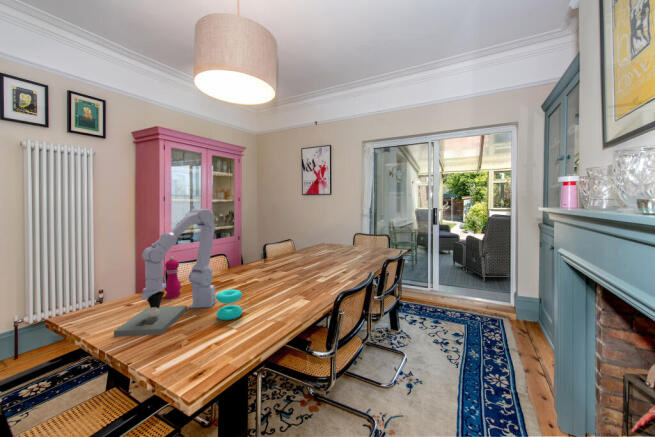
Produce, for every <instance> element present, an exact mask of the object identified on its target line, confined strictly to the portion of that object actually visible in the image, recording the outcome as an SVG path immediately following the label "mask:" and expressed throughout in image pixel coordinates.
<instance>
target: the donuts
mask: <svg viewBox="0 0 655 437" xmlns="http://www.w3.org/2000/svg"><path fill="white" fill-rule="evenodd" d="M242 296H243V293H242V291H240V290H239V289H232V288H231V289H225V290H221V291H219V292H218V293H216V302H219V303H221V304H227V305H225V306H222V307H220V308H219V309H218V310H216V311H217V312H216V317H217V318H218V319H220V320H223V321H229V320H235V319H237V318H239V317H240V316H241V315H242V314H243V308H242V307H241V306H239V305H236V304H233V303H236V302H237V301H239V300H240V299H241V298H242Z"/></svg>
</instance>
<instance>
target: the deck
mask: <svg viewBox="0 0 655 437" xmlns="http://www.w3.org/2000/svg"><path fill="white" fill-rule="evenodd" d="M150 308H151V307H150V306H147V307H145V308H144V309H143V310H141V311H140V312H139V313H137V314H136V315H135V316H133V317H132V318H130V319H129V320H127V321H126V322H124V323H122V324H121V325H119V327H117V328H116V329H114V330H113V336H114V337H130V336H152V335H153V336H157V335H163V334H164V333H165V332H166V331H168V329H169V328H170V327H171V326H172V325H174V324H175V322H176V321H178V319H180V318H181V316H183V315H184V314H185V313H186V312H187V311H188V305H166V306H161V305H160V307H159V315H158V316H157V317H155V318H150V317H149V316H148V314H147V313H148V310H149V309H150Z"/></svg>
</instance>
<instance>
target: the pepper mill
mask: <svg viewBox="0 0 655 437" xmlns="http://www.w3.org/2000/svg"><path fill="white" fill-rule="evenodd" d="M179 266H180V263H179V260H176V259H175V258H174V256H170V257H169V260H167V261H165V265H164V267H165V269H166V274H167V279H166V282H165V283H166V288H164V292H166V293H165V298H167V299H175V298H178V297H180V296H181V291H180V290H181V289H182V284H181V281H180V280H179V277H178V272H179V269H178V268H179Z"/></svg>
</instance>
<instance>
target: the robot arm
mask: <svg viewBox="0 0 655 437" xmlns="http://www.w3.org/2000/svg"><path fill="white" fill-rule="evenodd" d="M214 218H215V214H214V212H212V210H211V209H209V208H194V207H193V208H191V209H190V210H189V211H188V212H186V214H185V215H184V217H183V218H182V219H181V220H180V221H179V222H178V224H176V226H174V228H173V229H172V230H171V231H169V232H165V233H161V234H160V236H159V238H158V239H157V240H156V241H155V242H153V243H152V244H151V246H149V247H146V248H145V249H144V250H143V252H142V254H141V256H140V257H141V258H142V260H143V261H144V270H145V271H144V275H145V276H144V277H145V279H144V280H145V287H144V288H143V289H142V292H143V293H141V294H140V297H141V298H140V299H141V301H145V300H146V301H147V302H148V304H149V307H151V308H152V307H157V308H158V309H159V307H161V302H162V300H163V297H164V295H165V291H164V290H165V288H166V282H163V260H165V258H166V254H167V252H169V251H170V249H172V247H174V245H176V244H177V242H178V237H180V236H181V235H183V233H184V232H185V231H186V230H188V228H190V227H191V226H192V225H197V226H198V228H200V230H201V232H200V233H201V234H200V238H199V239H200V240H199V244H198V251H197V255H196V256H197V257H196V263H195V264H194V265H193V266H192V267H191V271H190V273H189V274H188V281H189V283H191V290H192V291H191V292H192V294H191V295H192V304H190V305H189V308H190V309H195V308H212V307H213V305H214V304H215V303H216V302H217V299H216V296H217V293H216V286H215V285H214V284H211V283H212V282H213V280H214V277H213V268H212V267H211V266H210V262H211V261H210V259H211V255H212V247H213V242H214V237H215V230H216V225H215V221H214Z"/></svg>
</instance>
